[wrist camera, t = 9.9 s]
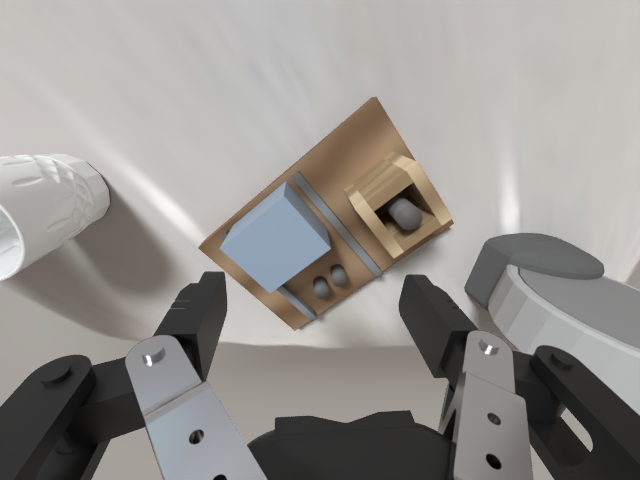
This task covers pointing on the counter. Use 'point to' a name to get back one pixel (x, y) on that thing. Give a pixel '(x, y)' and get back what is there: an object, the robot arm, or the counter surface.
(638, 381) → the alarm clock
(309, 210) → the block
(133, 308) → the counter surface
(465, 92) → the counter surface
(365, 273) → the jig board
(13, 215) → the white cup
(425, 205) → the collar
